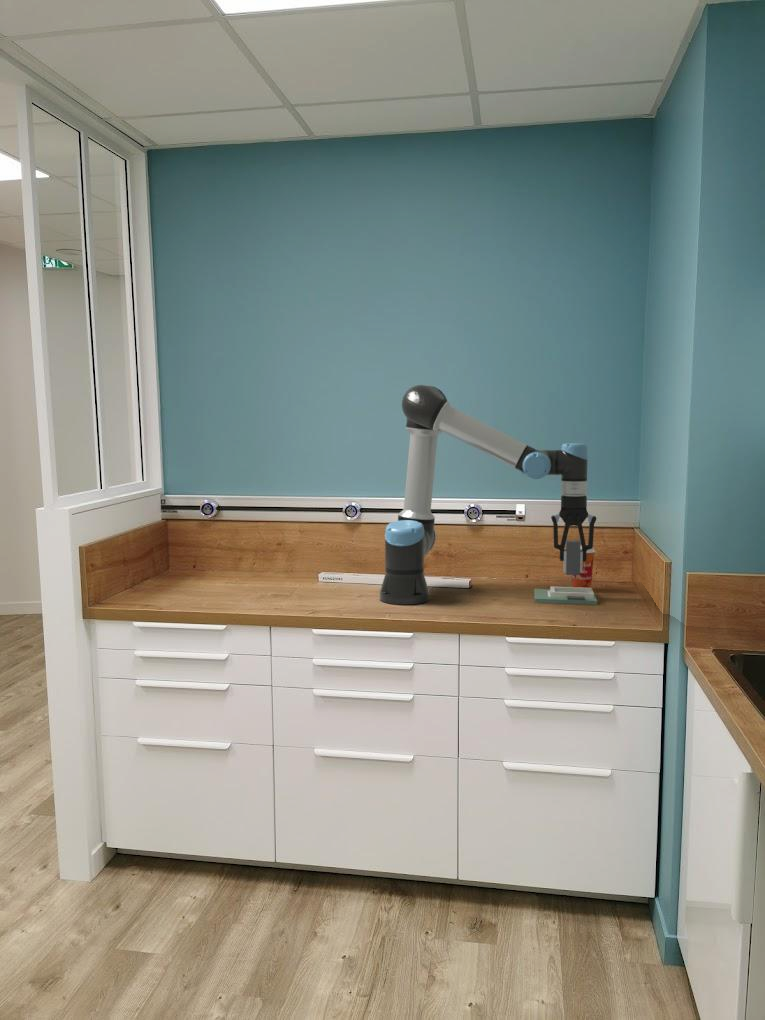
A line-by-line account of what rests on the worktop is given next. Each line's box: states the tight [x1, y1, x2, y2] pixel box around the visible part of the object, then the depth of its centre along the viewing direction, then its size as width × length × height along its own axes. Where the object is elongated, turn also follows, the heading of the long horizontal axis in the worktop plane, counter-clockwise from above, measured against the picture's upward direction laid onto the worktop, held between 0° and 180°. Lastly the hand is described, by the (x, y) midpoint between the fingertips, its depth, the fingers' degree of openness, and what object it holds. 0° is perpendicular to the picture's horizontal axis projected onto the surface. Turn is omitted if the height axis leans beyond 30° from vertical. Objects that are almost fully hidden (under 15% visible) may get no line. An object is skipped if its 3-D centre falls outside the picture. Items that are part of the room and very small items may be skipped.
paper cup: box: [571, 544, 597, 588], centre depth 259 cm, size 8×8×14 cm
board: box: [533, 586, 598, 606], centre depth 248 cm, size 18×14×3 cm
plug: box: [565, 539, 581, 576], centre depth 247 cm, size 4×5×10 cm
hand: (572, 571), depth 247 cm, fingers closed on plug, 4 cm apart
